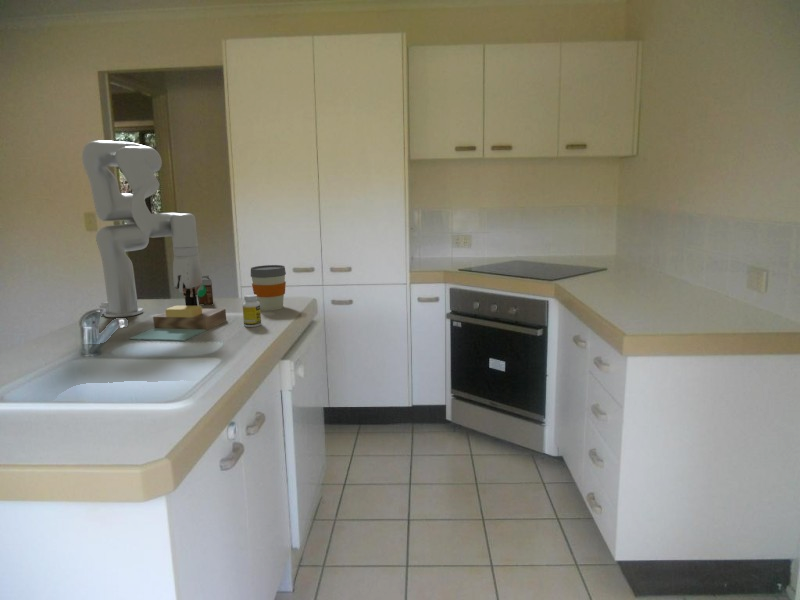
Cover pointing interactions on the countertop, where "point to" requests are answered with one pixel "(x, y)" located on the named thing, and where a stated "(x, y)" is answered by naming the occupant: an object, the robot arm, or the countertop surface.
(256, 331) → the countertop surface
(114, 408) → the countertop surface
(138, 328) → the countertop surface
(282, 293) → the reusable coffee cup
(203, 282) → the food container
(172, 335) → the mat
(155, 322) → the brown wooden block
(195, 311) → the yellow sponge
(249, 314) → the supplement bottle
